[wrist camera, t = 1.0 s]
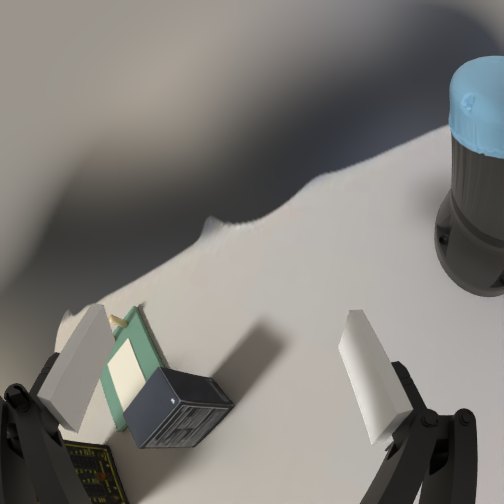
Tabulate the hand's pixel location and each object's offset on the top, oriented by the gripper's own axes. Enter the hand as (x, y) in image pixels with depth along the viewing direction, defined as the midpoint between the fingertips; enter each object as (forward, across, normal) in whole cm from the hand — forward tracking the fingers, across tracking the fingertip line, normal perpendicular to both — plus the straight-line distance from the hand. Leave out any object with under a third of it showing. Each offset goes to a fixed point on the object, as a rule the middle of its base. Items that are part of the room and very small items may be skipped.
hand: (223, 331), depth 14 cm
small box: (+11, -4, -27) cm, 29 cm away
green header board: (+22, -21, -32) cm, 45 cm away
